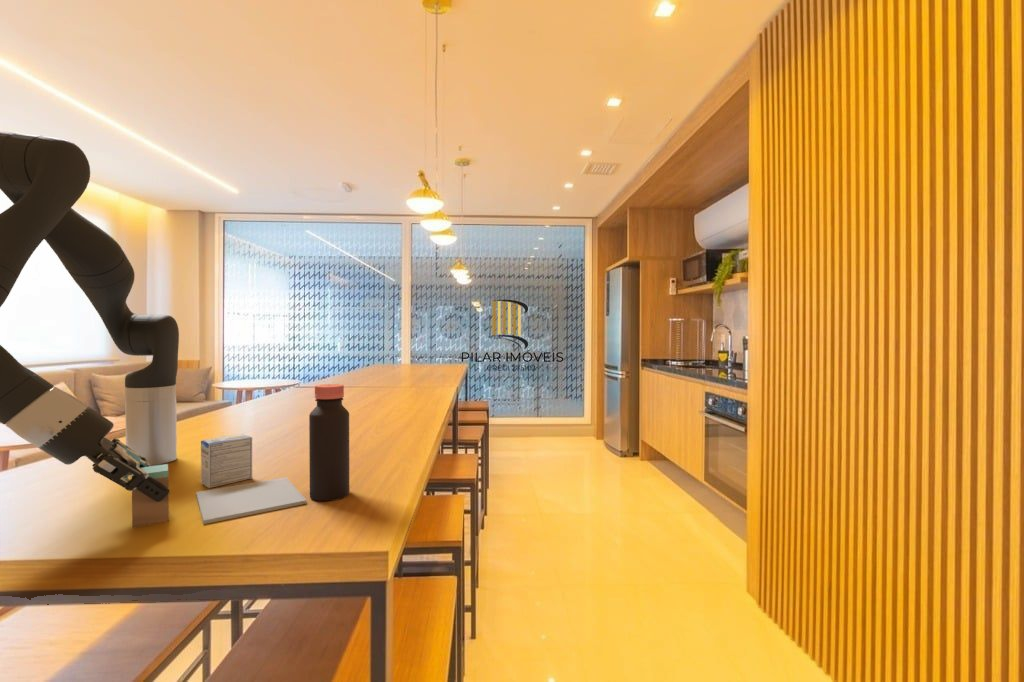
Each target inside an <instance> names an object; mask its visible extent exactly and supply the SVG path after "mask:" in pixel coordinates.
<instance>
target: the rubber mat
mask: <svg viewBox="0 0 1024 682" xmlns="http://www.w3.org/2000/svg"><path fill="white" fill-rule="evenodd" d="M195 496H196V501H197V503H198V509H199V510H200V511H199V512H200V517H201V519H202V520H201V521H202V524H203V525H206V524H211V523H216V522H221V521H222V522H223V521H227V520H232V519H236V518H241V517H242V518H243V517H247V516H251V515H256V514H261V513H267V512H271V511H276V510H281V509H286V508H292V507H296V506H301V505H306V504H307V499H306V497H304V496H303V495H302V493H301V492H299V490H298V489H297V488H296V487H295V486H294V484H293V483H292V482H291V481H290V480H289V479H288V478H287V477H286V476H284V477H279V478H272V479H267V480H261V481H254V482H250V483H243V484H238V485H229V486H225V487H220V488H219V487H218V488H213V489H208V490H207V489H205V490H200V491H196V492H195Z"/></svg>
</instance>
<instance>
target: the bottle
mask: <svg viewBox="0 0 1024 682" xmlns="http://www.w3.org/2000/svg"><path fill="white" fill-rule="evenodd" d="M344 388H345V386H344V384H339V383H335V384H334V383H332V384H331V383H329V384H327V383H326V384H318V385H314V399H315V402H316V407H314V408H313V409H312V410H311V412H309V415H308V417H309V418H308V419H309V422H308V423H309V424H308V425H309V427H308V428H309V430H308V431H309V432H308V433H309V435H308V437H309V442H308V443H309V445H308V446H309V447H308V448H309V452H308V453H309V498H311V499H312V500H314V501H317V502H329V501H335V500H340V499H342V498H344V497H346V496H348V495H349V493H350V412H349V411H348V409H347V408H345V406H344V405H343V401H344V397H345V394H344V393H345V391H344V390H345V389H344Z"/></svg>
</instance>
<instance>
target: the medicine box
mask: <svg viewBox="0 0 1024 682" xmlns="http://www.w3.org/2000/svg"><path fill="white" fill-rule="evenodd" d="M200 462H201V463H200V471H201V474H200V475H201V477H200V478H201V479H200V480H201V484H202V485H204V487H207V488H208V489H211V488H215V487H216V488H217V487H220V486H224V485H230V484H233V483H237V482H241V481H247V480H251V479H252V478H253V437H252V436H250V435H248V434H245V433H238V434H233V435H232V434H231V435H226V436H219V437H212V438H209V439H208V438H207V439H202V440H201V441H200Z"/></svg>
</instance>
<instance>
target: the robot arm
mask: <svg viewBox="0 0 1024 682" xmlns="http://www.w3.org/2000/svg"><path fill="white" fill-rule="evenodd" d="M90 178H91V166H90V161H89V160H88V158H87V156H86V154H85V152H84V151H83V150H82V148H80V147H79V146H78V145H77V144H76V143H75V142H71V141H69V140H67V139H64V138H57V137H54V136H46V135H45V136H44V135H37V134H30V133H29V134H28V133H23V132H14V131H0V190H1V192H2V193H4V195H5V196H6V197H7V198H8V199H9V200H10V202H12V203H13V204H12V205H11V206H9V207H8V208H7V209H5V210H4V211H2V212H1V213H0V308H1V307H2V306H3V304H4V303H5V301H6V300H7V298H8V297H9V295H10V293H11V292H12V290H13V288H14V286H15V284H16V282H17V280H18V278H19V277H20V275H21V273H22V270H23V269H24V267H25V266H26V264H27V262H28V261H29V259H30V258H31V256H32V255H33V254H34V252H35V251H36V249H37V248H38V246H40V244H41V243H42V242H43V241H45V242H46V243H47V244H48V246H49V247H50V248H51V250H52V251H53V252H54V254H55V255H56V256H57V258H58V259H59V260H60V262H61V263H62V265H63V267H64V268H65V270H66V271H67V272H68V274H69V275H70V277H72V279H73V280H74V282H75V283H76V284H77V286H78V287H79V288H80V289H81V290H82V292H83V293H84V295H85V296H86V297H87V299H88V300H89V302H90V303H91V305H92V306H93V308H94V309H95V311H96V313H98V315H99V317H100V319H101V321H102V323H103V325H104V326H105V329H106V331H107V332H108V333H109V335H110V337H111V339H112V341H113V343H114V345H115V346H116V347H117V349H118V350H120V352H122V353H123V354H125V355H129V356H137V357H139V356H144V357H145V356H149V357H151V356H152V359H151V362H150V364H148V365H147V366H145V367H143V368H141V369H138V370H135V371H131V372H128V373H127V374H126V375H125V378H124V405H125V406H124V409H125V412H124V414H125V415H124V417H125V420H124V421H125V443H124V442H122V441H121V440H120V439H118V438H113V439H112V440H110V439H109V438H107V437H106V436H107V435H108V434H109V433H110V432H111V431H112V430H113V428H114V427H115V426H114V425H115V424H114V423H113V422H112V421H111V420H109V419H108V418H107V417H105V416H103V415H102V414H100V413H99V412H98V411H96V410H94V409H93V408H92V407H90V406H89V405H87V404H86V403H84V402H82V401H81V400H80V399H78V398H76V397H75V396H74V395H72V394H70V393H68V392H66V391H64V390H62V389H61V388H59V387H58V386H55V385H54V384H53V383H50V382H49V381H47V380H46V379H44V378H43V376H41V375H39V374H37V373H36V372H35V371H33V370H31V369H30V368H27V367H26V366H24V365H23V364H21V363H20V362H19V361H18V360H17V359H16V358H15V357H14V356H13V355H12V354H11V353H10V352H9V351H8V350H7V349H6V348H4V347H3V345H1V344H0V423H1V424H2V425H5V426H6V428H9V429H10V430H11V431H12V432H13V433H14V434H15V435H17V436H18V437H19V438H21V439H23V440H25V441H26V442H28V443H29V444H31V445H33V446H35V447H36V448H38V449H39V450H41V451H43V452H44V453H46V454H48V455H49V456H51V457H53V458H54V459H56V460H57V461H59V462H61V463H63V464H64V465H67V466H68V465H72V464H74V463H76V462H77V461H78V460H79V459H81V458H82V457H86V458H87V459H88V460H90V461H91V462H92V463H93V464H92V470H93V472H94V473H96V474H99V475H101V476H103V477H104V478H106V479H108V480H109V481H111V482H113V483H115V484H117V485H119V486H121V487H122V488H124V489H125V490H126V491H129V492H132V490H136V489H137V490H139V491H140V492H142V493H143V494H145V495H147V496H148V497H150V498H151V499H153V500H155V501H156V502H160V501H162V500H163V499H164V498H165V497H166V496H167V495H168V494H170V491H171V490H170V487H169V488H167V487H166V486H164V485H163V484H161V483H160V482H158V481H157V480H155V479H153V478H152V477H150V476H149V474H148V473H145V472H144V471H143V470H142V469H140V468H141V467H149V466H156V465H164V464H169V463H171V462H173V461H176V460H177V459H178V457H177V456H178V455H177V454H178V453H177V452H178V451H177V449H178V448H177V447H178V446H177V444H178V443H177V442H178V439H177V438H178V434H177V429H178V428H177V422H178V421H177V375H178V367H179V366H178V365H179V364H178V363H179V359H178V358H179V343H180V341H179V340H180V332H179V325H178V323H177V321H176V319H175V318H174V317H173V316H172V315H168V314H137V313H134V312H132V311H131V309H130V308H129V307H128V304H127V299H128V296H129V295H130V293H131V290H132V288H133V285H134V282H135V271H134V270H135V269H134V268H133V266H132V264H131V262H130V260H129V258H128V256H127V255H126V253H125V251H124V250H123V249H122V247H121V245H120V244H119V243H118V242H117V241H116V239H114V238H113V237H112V236H111V235H109V234H108V233H107V232H106V231H105V230H103V229H101V228H100V227H99V226H97V225H96V224H94V223H93V222H92V221H90V220H89V219H87V218H86V217H84V216H83V215H82V214H81V213H79V212H77V211H76V210H75V209H74V208H72V207H74V205H75V204H76V203H77V202H78V200H79V199H80V198H81V196H82V195H83V194H84V193H85V191H86V189H87V187H88V185H89V183H90ZM132 474H133V475H135V476H134V477H133V478H132ZM129 476H131V479H129ZM169 481H170V480H169V478H168V483H169Z"/></svg>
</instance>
